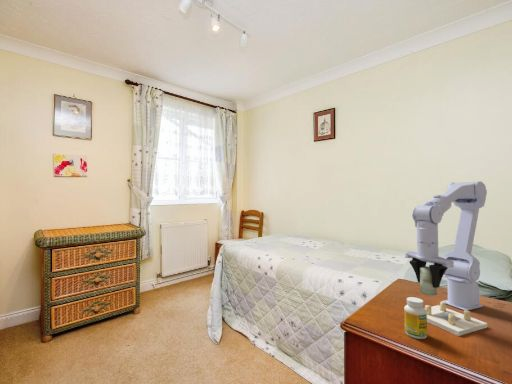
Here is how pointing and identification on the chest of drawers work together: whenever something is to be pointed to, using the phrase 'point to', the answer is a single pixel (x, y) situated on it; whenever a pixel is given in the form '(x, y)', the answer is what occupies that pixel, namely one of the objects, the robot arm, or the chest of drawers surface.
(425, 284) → the peg
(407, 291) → the chest of drawers surface
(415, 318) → the supplement bottle
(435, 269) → the robot arm
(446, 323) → the base plate
